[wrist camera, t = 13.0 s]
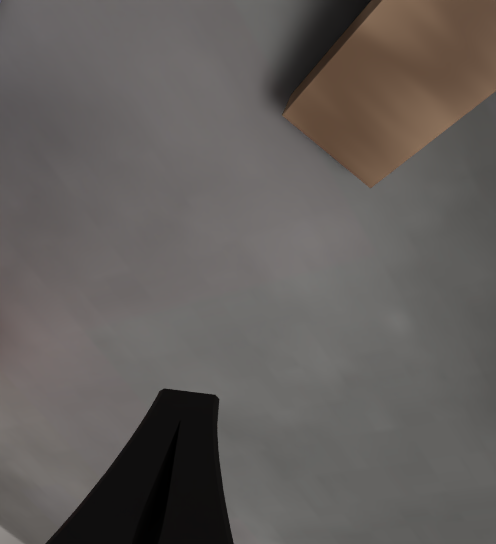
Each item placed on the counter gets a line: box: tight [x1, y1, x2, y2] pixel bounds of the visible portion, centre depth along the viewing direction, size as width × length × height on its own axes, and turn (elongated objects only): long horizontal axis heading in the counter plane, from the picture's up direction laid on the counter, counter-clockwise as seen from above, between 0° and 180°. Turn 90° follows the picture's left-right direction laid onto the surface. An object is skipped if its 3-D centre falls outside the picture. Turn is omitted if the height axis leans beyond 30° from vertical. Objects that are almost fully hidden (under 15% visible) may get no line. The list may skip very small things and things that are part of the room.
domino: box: [282, 0, 496, 188], centre depth 13 cm, size 4×2×7 cm
